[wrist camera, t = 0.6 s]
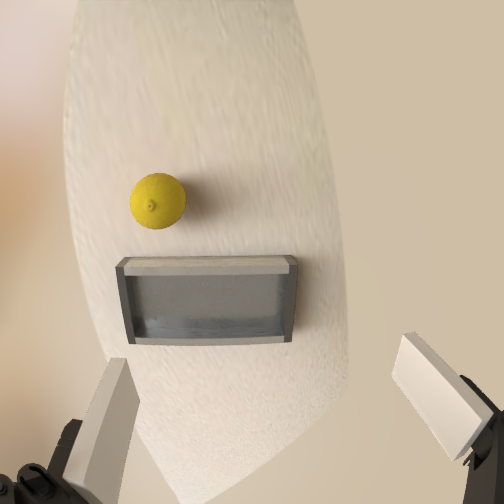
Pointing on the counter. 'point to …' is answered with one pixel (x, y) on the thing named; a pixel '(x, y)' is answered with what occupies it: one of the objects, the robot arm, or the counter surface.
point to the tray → (208, 299)
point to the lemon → (157, 201)
